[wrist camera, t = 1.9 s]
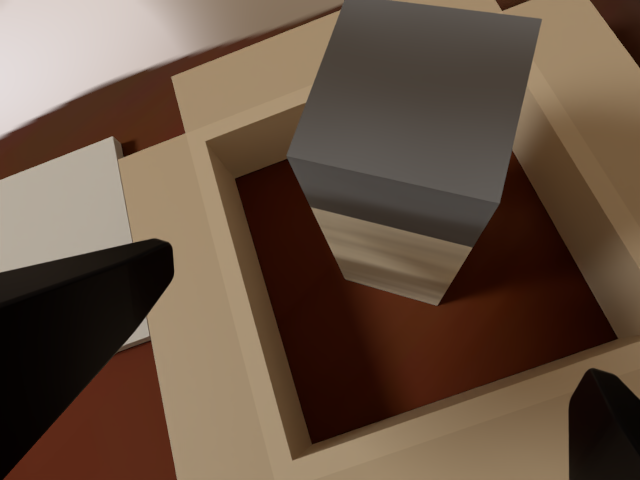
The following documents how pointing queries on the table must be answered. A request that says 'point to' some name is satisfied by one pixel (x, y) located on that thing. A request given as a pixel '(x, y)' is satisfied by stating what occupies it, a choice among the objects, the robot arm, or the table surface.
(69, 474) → the table surface
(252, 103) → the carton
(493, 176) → the capped block
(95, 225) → the white square tile
